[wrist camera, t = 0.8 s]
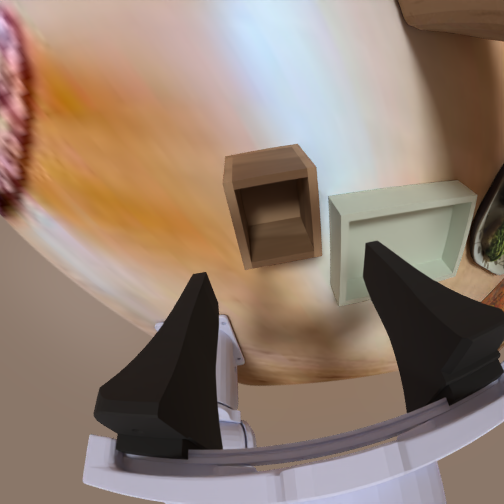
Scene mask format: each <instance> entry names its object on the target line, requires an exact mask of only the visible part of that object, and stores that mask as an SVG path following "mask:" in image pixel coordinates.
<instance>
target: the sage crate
mask: <svg viewBox="0 0 504 504" xmlns="http://www.w3.org/2000/svg"><path fill="white" fill-rule="evenodd" d="M328 198H329V220H330V271H331V272H330V284H331V287H332V289H333V292H334V295H335V297H336V300H337V303H338V306H339V307H341V306H345V305H350V304H354V303H358V302H363V301H367V300H371V298H370V296H369V293H368V291H367V288H366V285H365V282H364V279H363V267H364V256H365V243H367V242H372V241H379V242H380V243H382V244H383V245H385V246H386V247H387V248H389V249H390V250H391V251H393V252H394V253H395V254H397V255H398V256H399V257H401V258H402V259H404V260H405V261H406V262H408V263H409V264H410V265H412V266H413V267H415V268H416V269H418V270H419V271H421V272H422V273H424V274H425V275H427V276H428V277H430V278H431V279H433V280H435V281H436V282H438V281H442V280H445V279H448V278H451V277H455V276H456V273H457V270H458V267H459V264H460V261H461V258H462V255H463V251H464V248H465V245H466V241H467V238H468V234H469V230H470V226H471V222H472V218H473V214H474V209H475V205H476V200H477V194H476V193H474V192H473V191H472V190H470V189H469V188H468V187H466V186H465V185H464V184H462V183H461V182H460V181H458V180H453V181H443V182H433V183H424V184H415V185H406V186H398V187H390V188H382V189H375V190H367V191H360V192H353V193H346V194H339V195H333V196H328Z"/></svg>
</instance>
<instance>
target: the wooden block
mask: <svg viewBox="0 0 504 504" xmlns="http://www.w3.org/2000/svg"><path fill="white" fill-rule="evenodd" d="M398 2H399V5H400V8H401V11H402V14H403V17H404V19H405V21H406V22H407V24H408V25H410V26H413V27H415V28H417V29H419V30H430V31H440V32H448V33H456V34H462V35H468V36H474V37H479V38H484V39H490V40H498V41H504V0H398Z"/></svg>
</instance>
